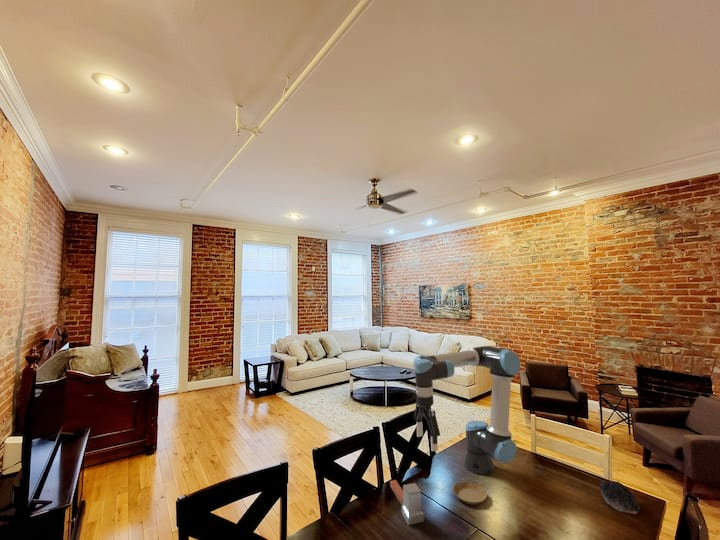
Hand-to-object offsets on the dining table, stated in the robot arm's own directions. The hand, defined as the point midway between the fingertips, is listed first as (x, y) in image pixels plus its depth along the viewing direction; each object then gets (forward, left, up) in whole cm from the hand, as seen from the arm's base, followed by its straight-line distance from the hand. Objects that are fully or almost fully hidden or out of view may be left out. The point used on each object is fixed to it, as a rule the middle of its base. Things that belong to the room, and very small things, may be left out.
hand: (427, 443), depth 142 cm
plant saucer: (0, +21, -27) cm, 34 cm away
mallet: (-4, -10, -27) cm, 29 cm away
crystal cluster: (+23, +82, -27) cm, 89 cm away
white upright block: (+5, -10, -24) cm, 26 cm away
